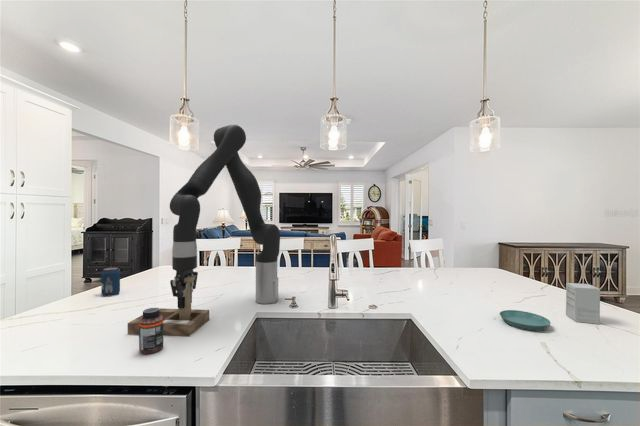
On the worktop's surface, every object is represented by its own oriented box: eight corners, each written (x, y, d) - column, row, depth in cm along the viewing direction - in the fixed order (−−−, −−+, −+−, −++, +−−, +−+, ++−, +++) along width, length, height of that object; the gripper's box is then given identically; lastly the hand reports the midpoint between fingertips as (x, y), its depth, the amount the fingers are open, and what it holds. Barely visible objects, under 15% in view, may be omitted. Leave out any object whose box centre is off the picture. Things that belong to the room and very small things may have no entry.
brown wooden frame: (209, 319, 106) (209, 308, 106) (189, 336, 92) (189, 324, 92) (155, 317, 107) (155, 307, 107) (127, 334, 93) (127, 322, 93)
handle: (189, 324, 96) (189, 278, 96) (171, 323, 97) (171, 277, 97) (197, 318, 101) (197, 275, 101) (180, 317, 102) (180, 274, 102)
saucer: (489, 320, 108) (490, 313, 108) (516, 314, 113) (516, 308, 113) (532, 336, 94) (533, 328, 94) (560, 329, 100) (560, 321, 100)
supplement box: (589, 317, 111) (589, 283, 110) (600, 324, 104) (601, 288, 103) (565, 315, 113) (565, 282, 113) (574, 322, 106) (575, 286, 106)
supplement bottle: (145, 345, 86) (145, 306, 86) (167, 344, 86) (167, 305, 86) (134, 355, 80) (134, 313, 80) (157, 354, 80) (157, 313, 80)
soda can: (116, 291, 140) (116, 266, 140) (122, 294, 136) (122, 268, 136) (99, 295, 135) (98, 268, 134) (104, 297, 131) (104, 270, 130)
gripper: (184, 258, 92) (184, 313, 92) (205, 251, 106) (205, 299, 106) (161, 258, 92) (161, 312, 92) (185, 251, 106) (185, 299, 106)
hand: (184, 305), depth 99 cm, fingers closed on handle, 4 cm apart
